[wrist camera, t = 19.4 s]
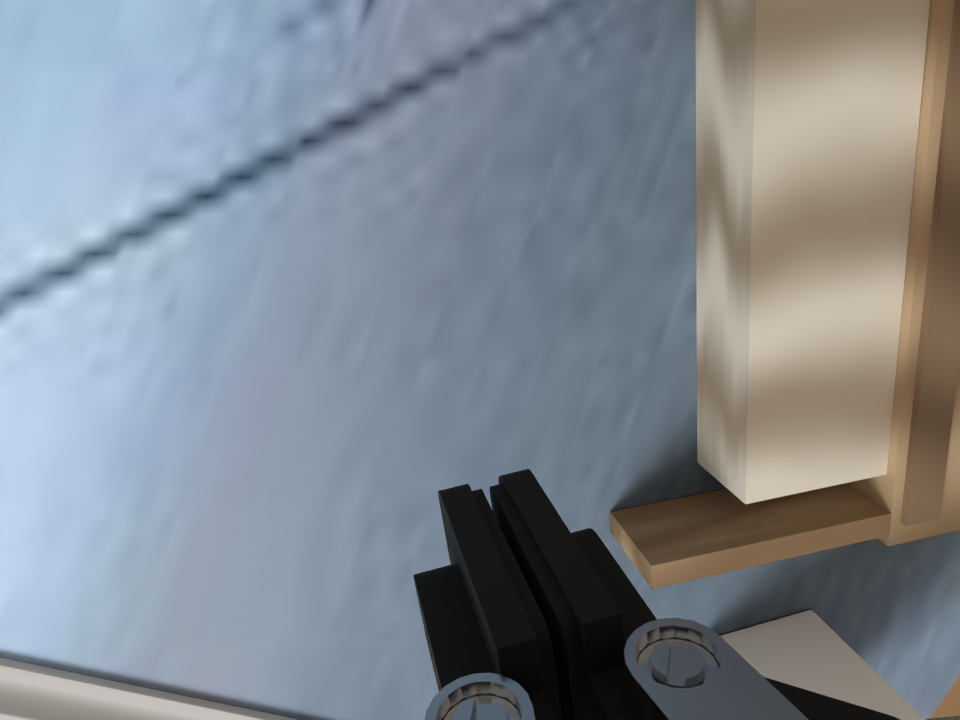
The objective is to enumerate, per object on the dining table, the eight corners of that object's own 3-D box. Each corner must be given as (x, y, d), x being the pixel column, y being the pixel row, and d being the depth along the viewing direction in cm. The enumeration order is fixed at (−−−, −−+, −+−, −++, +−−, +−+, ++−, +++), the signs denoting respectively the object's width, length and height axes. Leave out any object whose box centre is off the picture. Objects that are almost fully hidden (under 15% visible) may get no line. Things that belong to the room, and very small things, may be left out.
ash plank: (690, -75, 24) (758, -116, 20) (848, -85, 25) (941, -125, 21) (693, 459, 30) (745, 504, 26) (818, 433, 31) (886, 474, 27)
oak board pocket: (577, -184, 22) (634, -257, 18) (1067, -200, 25) (1211, -266, 21) (611, 542, 30) (655, 605, 26) (975, 466, 33) (1065, 511, 29)
